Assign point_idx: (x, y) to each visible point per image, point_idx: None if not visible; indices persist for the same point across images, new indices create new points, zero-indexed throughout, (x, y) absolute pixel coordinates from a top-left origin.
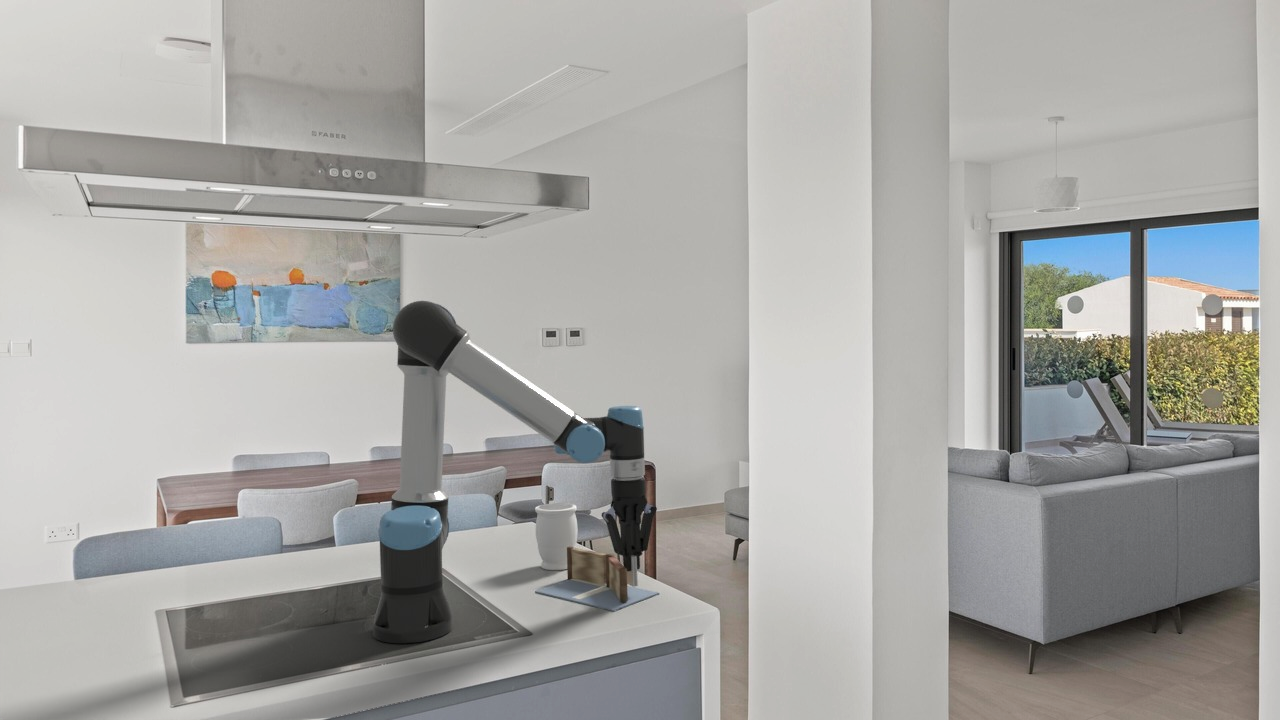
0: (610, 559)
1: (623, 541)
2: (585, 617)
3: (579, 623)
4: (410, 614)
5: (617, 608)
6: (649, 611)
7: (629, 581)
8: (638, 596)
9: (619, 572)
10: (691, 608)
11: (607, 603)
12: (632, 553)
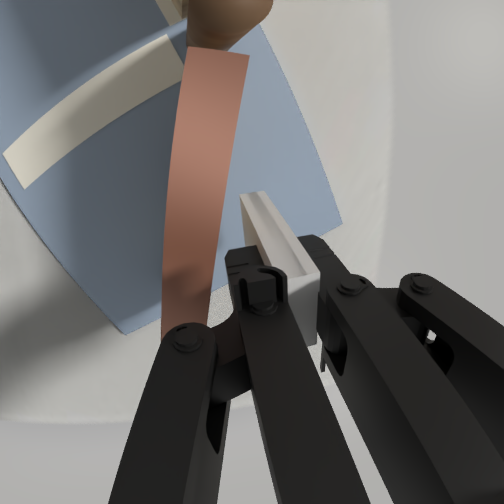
0: (178, 121)
1: (263, 434)
2: (44, 341)
3: (35, 368)
4: None
5: (138, 327)
6: None
7: (244, 223)
8: None
9: None
10: None
11: (115, 271)
12: (320, 310)
